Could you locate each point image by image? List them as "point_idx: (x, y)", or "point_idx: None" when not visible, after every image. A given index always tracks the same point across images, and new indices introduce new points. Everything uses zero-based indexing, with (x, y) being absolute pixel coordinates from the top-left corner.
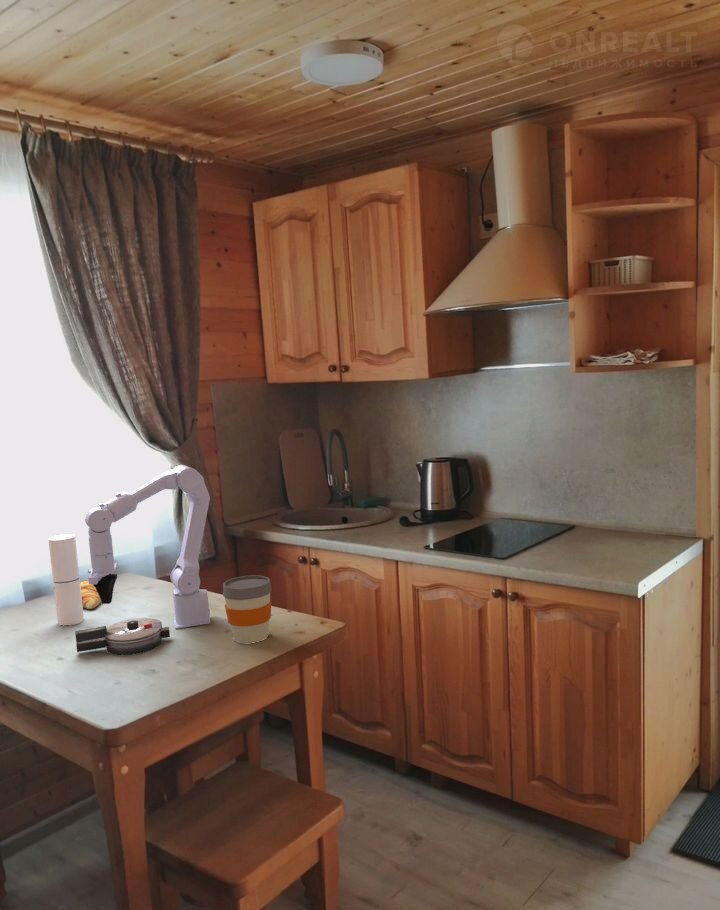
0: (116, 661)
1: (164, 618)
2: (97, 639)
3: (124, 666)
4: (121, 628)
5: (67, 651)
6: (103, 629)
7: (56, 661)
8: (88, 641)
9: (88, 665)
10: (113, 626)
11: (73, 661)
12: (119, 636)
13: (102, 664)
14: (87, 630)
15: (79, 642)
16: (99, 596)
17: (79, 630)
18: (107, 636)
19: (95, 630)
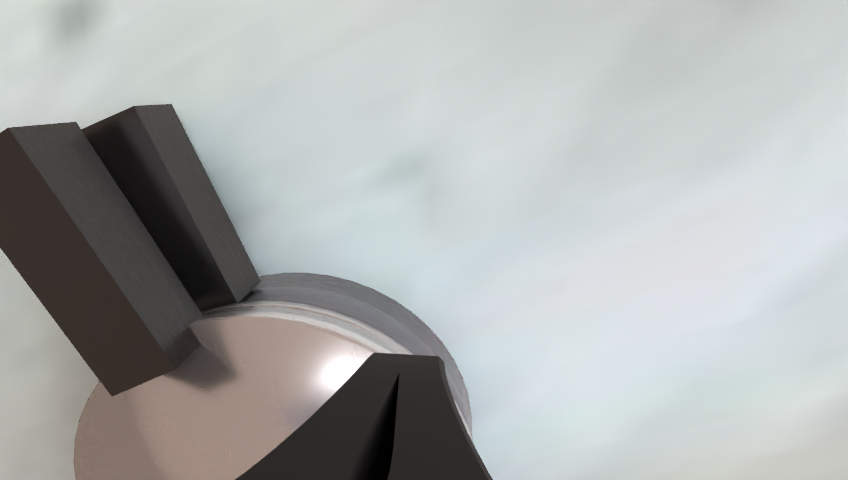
0: (82, 392)
1: (785, 474)
2: (178, 266)
3: (30, 446)
4: (256, 437)
5: (204, 6)
6: (97, 374)
7: (26, 11)
8: (137, 210)
9: (8, 262)
10: (301, 367)
11: None
12: (98, 468)
13: (34, 334)
14: (43, 249)
15: (109, 144)
16: (327, 402)
17: (33, 168)
18: (96, 386)
19: (56, 321)
